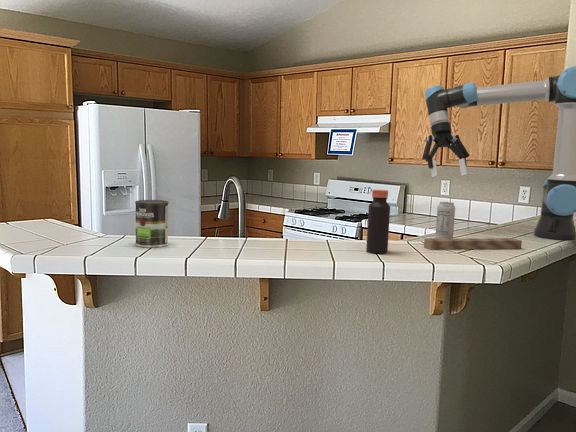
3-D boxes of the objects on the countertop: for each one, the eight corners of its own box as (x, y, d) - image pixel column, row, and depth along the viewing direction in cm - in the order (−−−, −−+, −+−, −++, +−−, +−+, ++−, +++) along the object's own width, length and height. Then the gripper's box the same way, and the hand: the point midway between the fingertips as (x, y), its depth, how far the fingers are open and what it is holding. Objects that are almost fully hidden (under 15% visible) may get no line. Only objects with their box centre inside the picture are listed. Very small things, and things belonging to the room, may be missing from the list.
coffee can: (156, 249, 159) (156, 203, 158) (128, 245, 163) (128, 201, 161) (174, 243, 169) (174, 201, 167) (148, 240, 173) (147, 198, 171)
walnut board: (512, 246, 184) (512, 237, 183) (521, 249, 179) (521, 240, 178) (423, 247, 177) (424, 238, 176) (430, 250, 172) (431, 240, 171)
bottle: (365, 249, 169) (368, 189, 166) (385, 250, 169) (389, 189, 166) (367, 253, 162) (370, 190, 160) (389, 254, 162) (392, 191, 159)
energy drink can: (456, 244, 183) (459, 203, 181) (444, 246, 179) (448, 203, 177) (442, 242, 188) (445, 201, 186) (431, 243, 184) (434, 201, 182)
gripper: (460, 127, 212) (470, 177, 208) (407, 128, 204) (416, 179, 200) (472, 120, 205) (482, 171, 201) (417, 120, 197) (427, 173, 193)
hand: (449, 175), depth 201 cm, fingers open, 13 cm apart
